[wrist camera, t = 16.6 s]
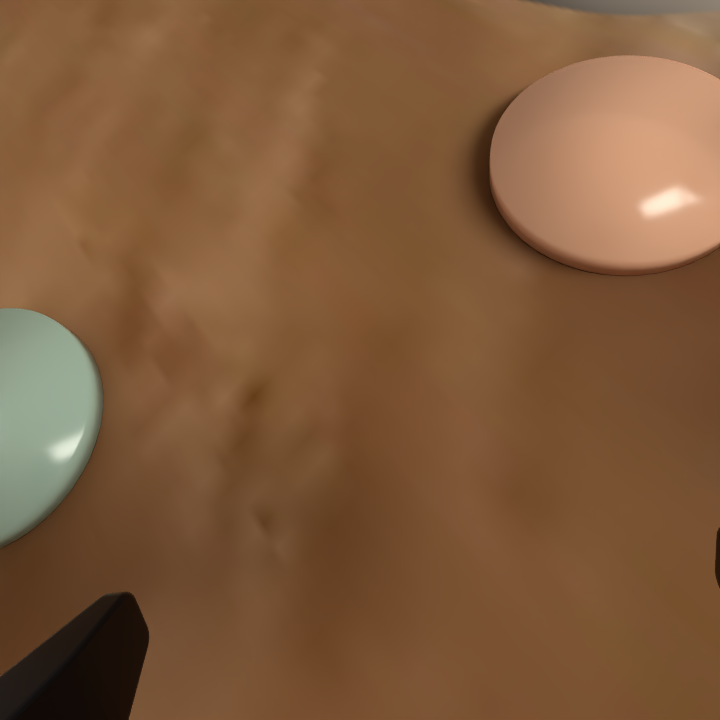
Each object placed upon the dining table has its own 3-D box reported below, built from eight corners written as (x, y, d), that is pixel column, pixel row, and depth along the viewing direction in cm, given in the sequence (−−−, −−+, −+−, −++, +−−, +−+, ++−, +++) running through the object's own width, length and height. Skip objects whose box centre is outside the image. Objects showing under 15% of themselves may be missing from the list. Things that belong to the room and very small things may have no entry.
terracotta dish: (754, 295, 23) (768, 280, 22) (467, 255, 26) (467, 240, 25) (762, 82, 27) (774, 61, 26) (512, 70, 30) (513, 50, 29)
